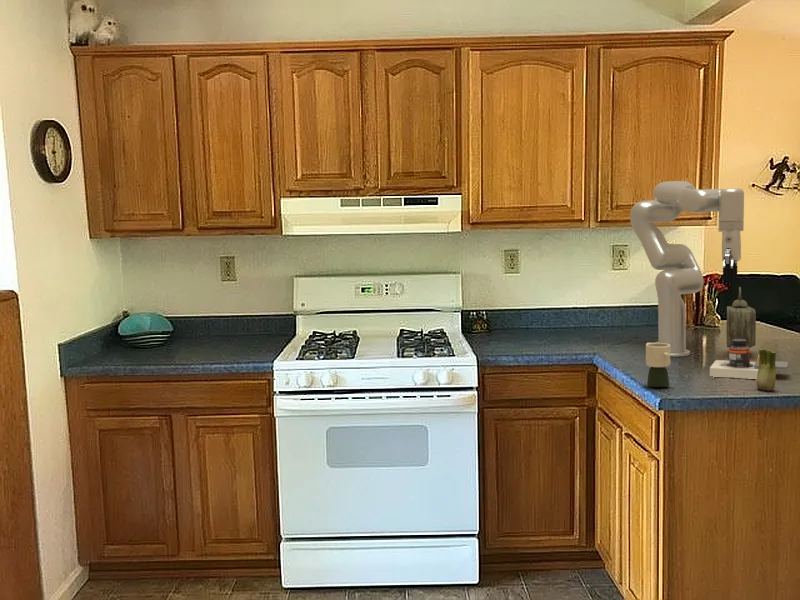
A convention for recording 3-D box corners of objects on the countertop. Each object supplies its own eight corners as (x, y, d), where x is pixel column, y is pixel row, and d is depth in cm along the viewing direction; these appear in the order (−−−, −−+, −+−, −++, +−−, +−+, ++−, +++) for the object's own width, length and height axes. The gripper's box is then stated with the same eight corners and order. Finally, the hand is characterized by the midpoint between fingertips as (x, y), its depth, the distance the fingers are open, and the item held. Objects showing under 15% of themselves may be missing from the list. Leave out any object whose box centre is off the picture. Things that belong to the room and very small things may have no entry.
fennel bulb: (778, 392, 214) (778, 351, 213) (759, 392, 215) (760, 351, 214) (771, 388, 220) (772, 347, 218) (753, 388, 220) (754, 347, 219)
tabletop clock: (726, 352, 277) (726, 285, 274) (753, 352, 274) (754, 285, 271) (727, 359, 264) (727, 289, 261) (755, 360, 260) (756, 288, 258)
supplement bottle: (743, 372, 242) (744, 337, 241) (753, 376, 236) (753, 340, 235) (725, 373, 242) (725, 338, 241) (734, 376, 236) (734, 341, 235)
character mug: (679, 389, 222) (679, 346, 221) (658, 391, 220) (658, 348, 219) (657, 382, 233) (657, 341, 231) (637, 384, 231) (637, 343, 230)
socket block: (709, 377, 237) (709, 367, 237) (715, 368, 249) (715, 360, 249) (765, 380, 229) (765, 371, 228) (769, 372, 241) (769, 362, 241)
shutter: (754, 367, 232) (754, 357, 232) (756, 362, 240) (756, 352, 240) (786, 369, 228) (786, 359, 227) (788, 364, 236) (788, 354, 235)
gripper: (740, 227, 235) (739, 281, 237) (746, 225, 250) (745, 276, 252) (714, 228, 239) (714, 281, 241) (722, 226, 253) (721, 276, 255)
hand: (730, 278), depth 246 cm, fingers open, 9 cm apart
